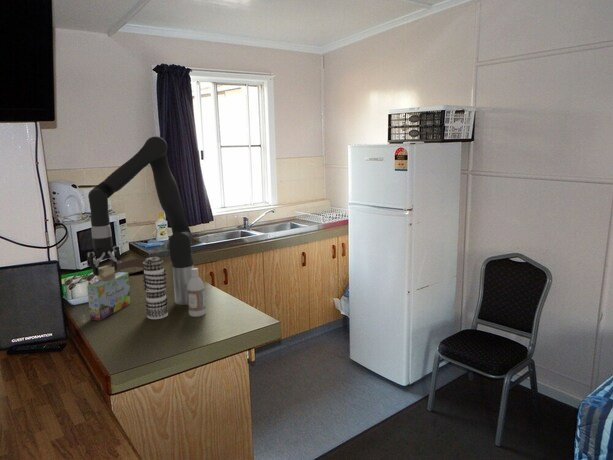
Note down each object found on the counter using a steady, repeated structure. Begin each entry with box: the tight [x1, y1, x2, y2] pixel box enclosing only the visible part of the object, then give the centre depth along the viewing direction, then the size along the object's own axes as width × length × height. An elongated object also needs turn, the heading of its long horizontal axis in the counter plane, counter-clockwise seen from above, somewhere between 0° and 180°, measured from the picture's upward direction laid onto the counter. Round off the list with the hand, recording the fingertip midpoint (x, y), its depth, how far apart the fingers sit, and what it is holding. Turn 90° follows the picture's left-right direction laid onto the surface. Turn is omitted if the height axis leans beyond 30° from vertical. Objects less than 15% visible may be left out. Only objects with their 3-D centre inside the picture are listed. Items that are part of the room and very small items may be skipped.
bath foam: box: [187, 267, 207, 317], centre depth 184 cm, size 7×7×20 cm
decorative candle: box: [142, 256, 169, 320], centre depth 182 cm, size 9×9×25 cm
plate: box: [115, 257, 148, 275], centre depth 258 cm, size 28×28×4 cm
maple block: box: [96, 265, 116, 281], centre depth 186 cm, size 5×5×5 cm
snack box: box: [86, 271, 131, 322], centre depth 189 cm, size 21×6×15 cm, turn 169°
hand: (105, 273), depth 186 cm, fingers open, 8 cm apart
